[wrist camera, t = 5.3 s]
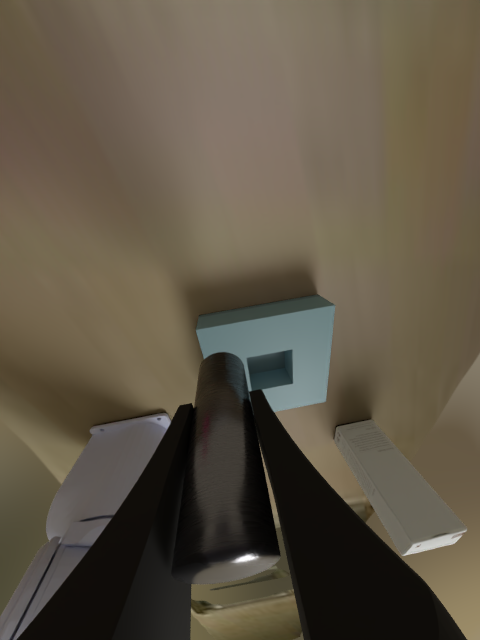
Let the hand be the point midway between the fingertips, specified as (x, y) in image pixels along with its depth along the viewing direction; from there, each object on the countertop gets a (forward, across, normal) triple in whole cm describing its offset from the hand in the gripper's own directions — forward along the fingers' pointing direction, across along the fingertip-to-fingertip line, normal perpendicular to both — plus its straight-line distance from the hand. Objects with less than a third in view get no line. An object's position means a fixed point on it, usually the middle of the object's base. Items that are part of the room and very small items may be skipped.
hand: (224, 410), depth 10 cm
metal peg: (+3, 0, 0) cm, 3 cm away
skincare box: (+10, -17, +23) cm, 30 cm away
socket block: (+10, -4, +4) cm, 12 cm away
